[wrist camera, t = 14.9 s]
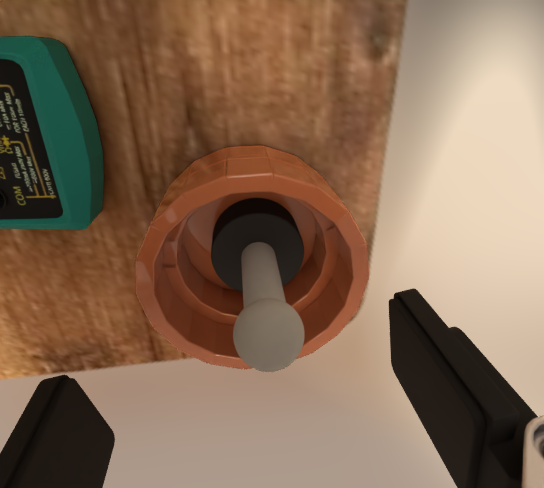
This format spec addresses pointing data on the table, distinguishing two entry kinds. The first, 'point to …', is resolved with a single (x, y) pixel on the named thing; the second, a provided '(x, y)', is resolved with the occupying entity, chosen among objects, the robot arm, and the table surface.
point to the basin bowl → (198, 241)
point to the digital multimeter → (46, 139)
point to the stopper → (261, 279)
